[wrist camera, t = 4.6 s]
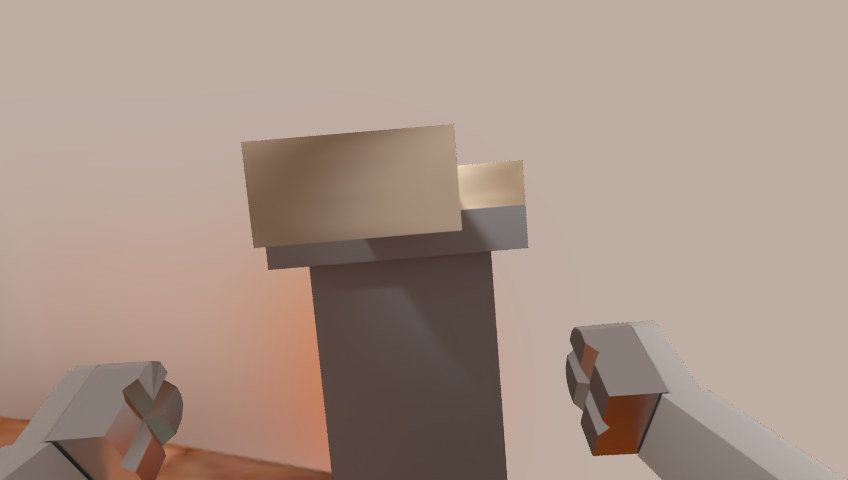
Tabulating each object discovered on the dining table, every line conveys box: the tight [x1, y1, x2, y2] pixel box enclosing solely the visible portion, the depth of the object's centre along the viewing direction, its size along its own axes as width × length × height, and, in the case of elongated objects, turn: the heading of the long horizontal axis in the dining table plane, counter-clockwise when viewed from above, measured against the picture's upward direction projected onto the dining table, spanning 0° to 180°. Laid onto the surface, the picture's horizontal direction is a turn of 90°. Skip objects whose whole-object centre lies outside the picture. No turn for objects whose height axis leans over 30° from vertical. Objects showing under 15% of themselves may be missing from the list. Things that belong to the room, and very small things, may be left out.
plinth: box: [266, 205, 528, 480], centre depth 28 cm, size 12×12×30 cm
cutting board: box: [241, 124, 525, 248], centre depth 20 cm, size 12×24×2 cm, turn 0°
